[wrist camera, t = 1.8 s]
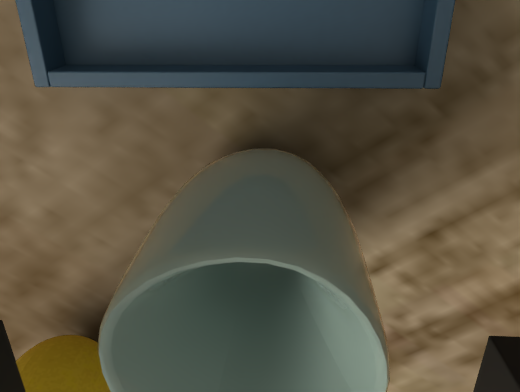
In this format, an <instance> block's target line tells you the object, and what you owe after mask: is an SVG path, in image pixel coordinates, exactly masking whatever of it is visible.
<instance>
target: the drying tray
mask: <svg viewBox="0 0 520 392" xmlns="http://www.w3.org/2000/svg"><path fill="white" fill-rule="evenodd" d="M16 5H17V9H18V13H19V18H20V22H21V27H22V31H23V35H24V40H25V44H26V48H27V53H28V57H29V62H30V66H31V70H32V75H33V79H34V83H35V86H36V87H50V86H51V87H169V88H387V89H422V88H425V89H439V88H440V87H441V81H442V76H443V70H444V64H445V58H446V52H447V46H448V40H449V35H450V29H451V23H452V17H453V11H454V5H455V0H16Z"/></svg>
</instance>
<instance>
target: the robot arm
mask: <svg viewBox="0 0 520 392" xmlns="http://www.w3.org/2000/svg"><path fill="white" fill-rule="evenodd" d="M0 392H26V391H25V388H24V385H23V382H22V379H21V376H20V373H19V370H18V367H17V364H16V361H15V358H14V355H13V352H12V349H11V345H10V342H9V339H8V336H7V333H6V330H5V327H4V324H3V321H2V320H0ZM473 392H520V337H506V336H489V338H488V342H487V345H486V349H485V353H484V356H483V360H482V363H481V367H480V370H479V374H478V377H477V381H476V384H475V388H474V391H473Z"/></svg>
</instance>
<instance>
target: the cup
mask: <svg viewBox="0 0 520 392" xmlns="http://www.w3.org/2000/svg"><path fill="white" fill-rule="evenodd" d="M98 354H99V359H100V365H101V370H102V373H103V376H104V378H105V380H106V382H107V385H108V387H109V389H110V391H111V392H387V389H388V384H389V380H390V369H389V351H388V344H387V338H386V334H385V330H384V325H383V322H382V318H381V314H380V311H379V307H378V303H377V300H376V296H375V293H374V289H373V286H372V282H371V279H370V276H369V272H368V269H367V266H366V262H365V259H364V255H363V252H362V249H361V246H360V243H359V240H358V237H357V234H356V231H355V228H354V226H353V223H352V221H351V219H350V217H349V215H348V213H347V211H346V209H345V207H344V205H343V203H342V201H341V199H340V197H339V196H338V194H337V192H336V191H335V189H334V188H333V187H332V185H331V184H330V183H329V182H328V180H327V179H326V178H325V177H324V175H323V174H322V173H321V172H320V171H319V170H317V169H316V168H315V167H314V166H313V165H312V164H310V163H309V162H308V161H306V160H305V159H303V158H301V157H299V156H297V155H295V154H293V153H290V152H286V151H282V150H279V149H271V148H256V149H249V150H242V151H238V152H235V153H232V154H229V155H226V156H223V157H221V158H220V159H218V160H216V161H214V162H212V163H210V164H208V165H207V166H205V167H204V168H203V169H201V170H200V171H199V172H197V173H196V174H195V175H194V176H192V177H191V178H190V179H189V180H188V181H187V182H186V183H185V184H184V185H183V186H182V187H181V188H180V190H179V191H178V192H177V193H176V194H175V196H174V197H173V198H172V199H171V200H170V202H169V203H168V204H167V205H166V207H165V208H164V209H163V211H162V212H161V214H160V215H159V216H158V218H157V220H156V221H155V223H154V224H153V226H152V227H151V229H150V231H149V232H148V234H147V236H146V237H145V239H144V241H143V242H142V244H141V246H140V247H139V249H138V251H137V253H136V254H135V256H134V258H133V259H132V261H131V263H130V265H129V266H128V268H127V270H126V272H125V273H124V275H123V277H122V279H121V281H120V283H119V285H118V286H117V288H116V290H115V292H114V295H113V297H112V299H111V301H110V303H109V305H108V307H107V310H106V312H105V314H104V316H103V319H102V321H101V325H100V331H99V340H98Z"/></svg>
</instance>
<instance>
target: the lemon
mask: <svg viewBox="0 0 520 392" xmlns="http://www.w3.org/2000/svg"><path fill="white" fill-rule="evenodd" d="M16 364H17V367H18V370H19V373H20V376H21V379H22V382H23V385H24V388H25V391H26V392H111V391H110V389H109V387H108V385H107V382H106V380H105V378H104V376H103V373H102V370H101V365H100V359H99V354H98V343H97V342H96V341H94V340H92V339H90V338H87V337H83V336H78V335H63V336H57V337H53V338H50V339H47V340H45V341H43V342H40V343H39V344H37V345H35V346H34V347H33V348H31V349H30V350H28V351H27V352H26V353H24V354H23V355H22V356H21V357H20V358H19V359H18V360H17V361H16Z"/></svg>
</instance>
